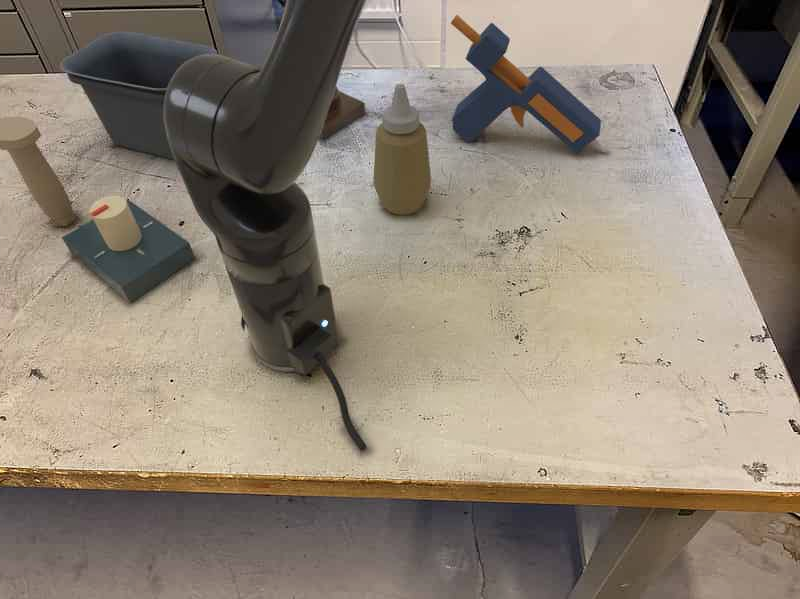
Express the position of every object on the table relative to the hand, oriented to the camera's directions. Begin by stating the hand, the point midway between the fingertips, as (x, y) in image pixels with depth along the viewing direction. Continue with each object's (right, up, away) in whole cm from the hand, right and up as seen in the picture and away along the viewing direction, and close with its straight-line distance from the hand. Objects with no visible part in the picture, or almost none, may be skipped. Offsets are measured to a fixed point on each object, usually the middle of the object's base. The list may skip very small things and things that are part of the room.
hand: (306, 32), depth 91 cm
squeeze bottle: (+15, -27, -5) cm, 31 cm away
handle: (-33, -30, -6) cm, 45 cm away
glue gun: (+34, -16, +4) cm, 38 cm away
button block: (+1, -9, +11) cm, 14 cm away
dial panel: (-21, -35, -11) cm, 43 cm away
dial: (-21, -33, -14) cm, 42 cm away
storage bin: (-23, -15, +7) cm, 28 cm away
